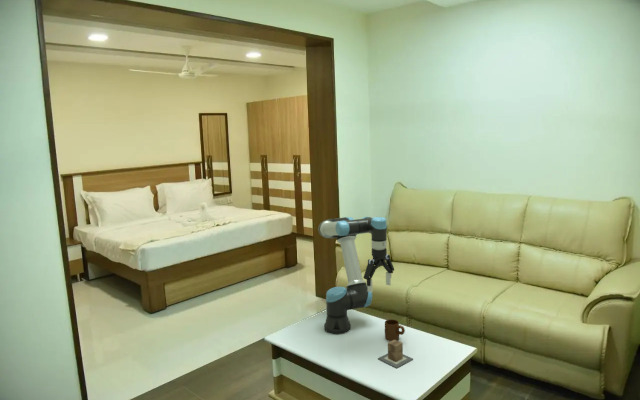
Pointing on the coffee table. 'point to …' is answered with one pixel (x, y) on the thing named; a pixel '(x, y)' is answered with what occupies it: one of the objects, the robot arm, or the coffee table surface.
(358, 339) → the coffee table surface
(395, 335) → the mug
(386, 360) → the mat
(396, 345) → the walnut block
